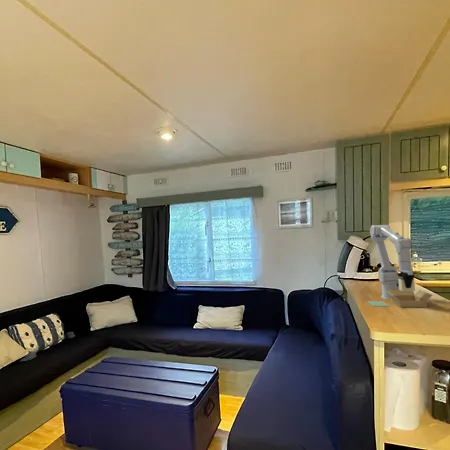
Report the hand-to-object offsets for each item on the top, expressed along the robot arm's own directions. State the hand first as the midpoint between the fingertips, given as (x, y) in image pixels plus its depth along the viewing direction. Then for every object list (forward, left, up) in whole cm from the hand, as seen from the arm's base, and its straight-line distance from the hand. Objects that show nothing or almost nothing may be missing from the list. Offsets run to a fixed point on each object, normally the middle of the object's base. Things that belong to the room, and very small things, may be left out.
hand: (406, 287), depth 157 cm
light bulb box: (-29, +2, -9) cm, 30 cm away
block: (0, 0, -2) cm, 2 cm away
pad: (0, -14, -9) cm, 17 cm away
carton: (-1, 0, -9) cm, 9 cm away
